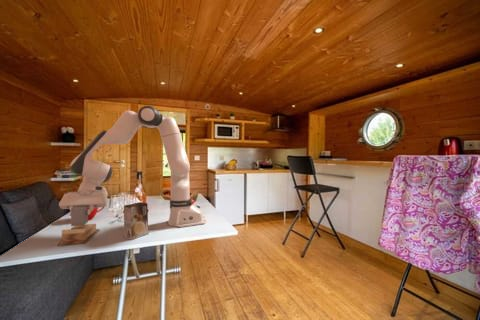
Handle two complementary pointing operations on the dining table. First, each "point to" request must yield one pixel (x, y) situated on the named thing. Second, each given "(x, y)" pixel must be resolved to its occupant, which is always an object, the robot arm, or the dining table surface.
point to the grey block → (79, 216)
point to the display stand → (78, 234)
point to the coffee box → (135, 220)
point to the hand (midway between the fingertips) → (79, 214)
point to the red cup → (93, 213)
